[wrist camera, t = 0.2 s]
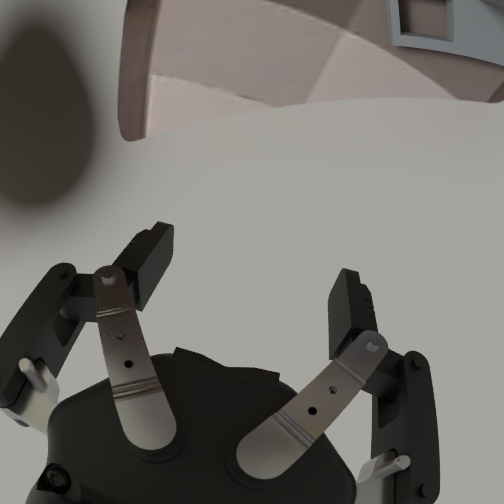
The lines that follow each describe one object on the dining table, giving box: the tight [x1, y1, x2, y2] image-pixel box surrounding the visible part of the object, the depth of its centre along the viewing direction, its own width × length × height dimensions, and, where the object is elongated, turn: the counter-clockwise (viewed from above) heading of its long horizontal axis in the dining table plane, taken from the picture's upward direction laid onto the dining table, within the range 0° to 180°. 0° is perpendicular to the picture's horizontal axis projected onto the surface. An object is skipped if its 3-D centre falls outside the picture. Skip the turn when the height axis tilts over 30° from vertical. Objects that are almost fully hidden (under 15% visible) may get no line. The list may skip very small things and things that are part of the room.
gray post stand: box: [385, 0, 504, 66], centre depth 15 cm, size 14×17×12 cm
